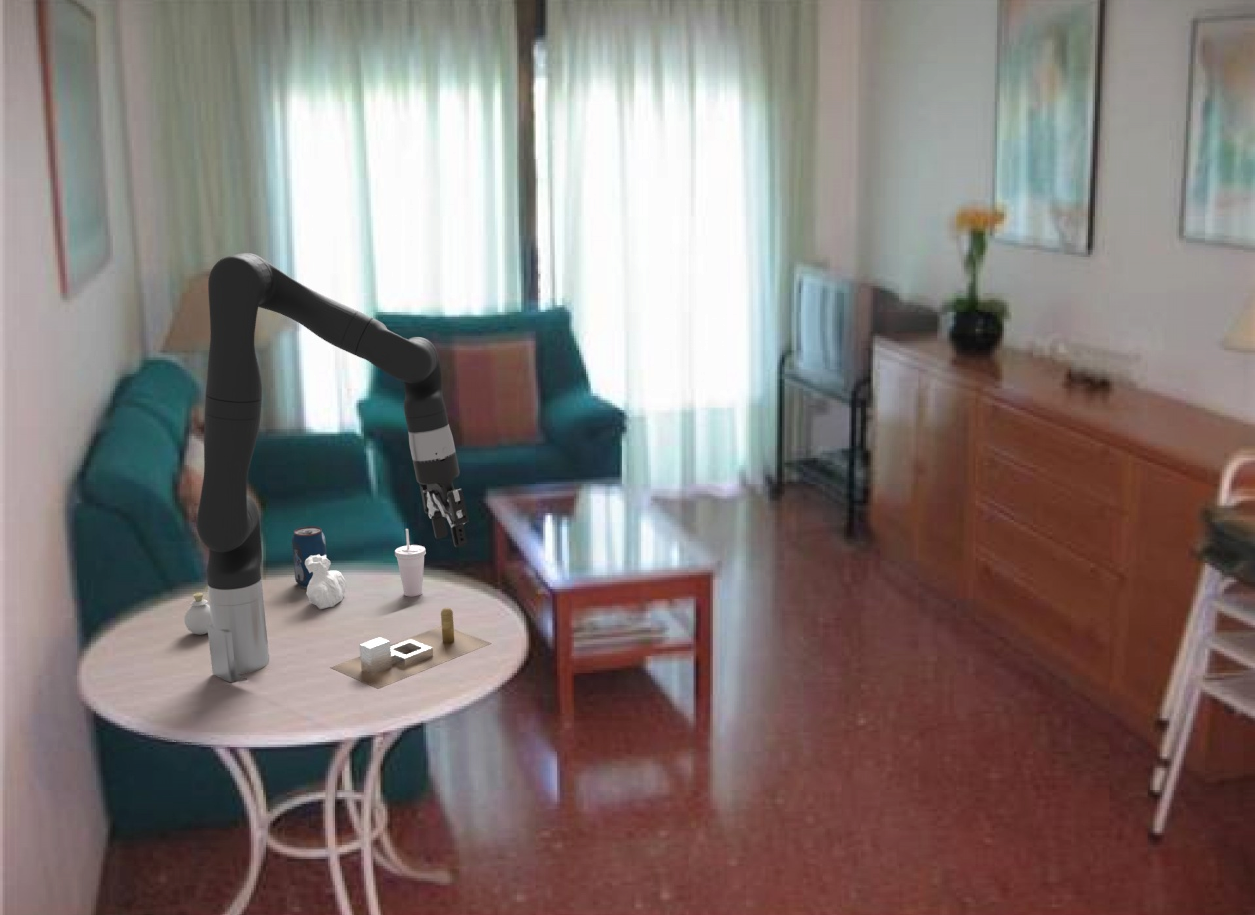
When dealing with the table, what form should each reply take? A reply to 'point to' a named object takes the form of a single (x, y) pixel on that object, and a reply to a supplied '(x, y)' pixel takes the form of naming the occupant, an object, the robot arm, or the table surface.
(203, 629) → the white potion bottle
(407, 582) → the smoothie
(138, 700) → the table surface
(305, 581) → the soda can
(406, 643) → the steel link
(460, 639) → the board
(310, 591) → the white tied bag
